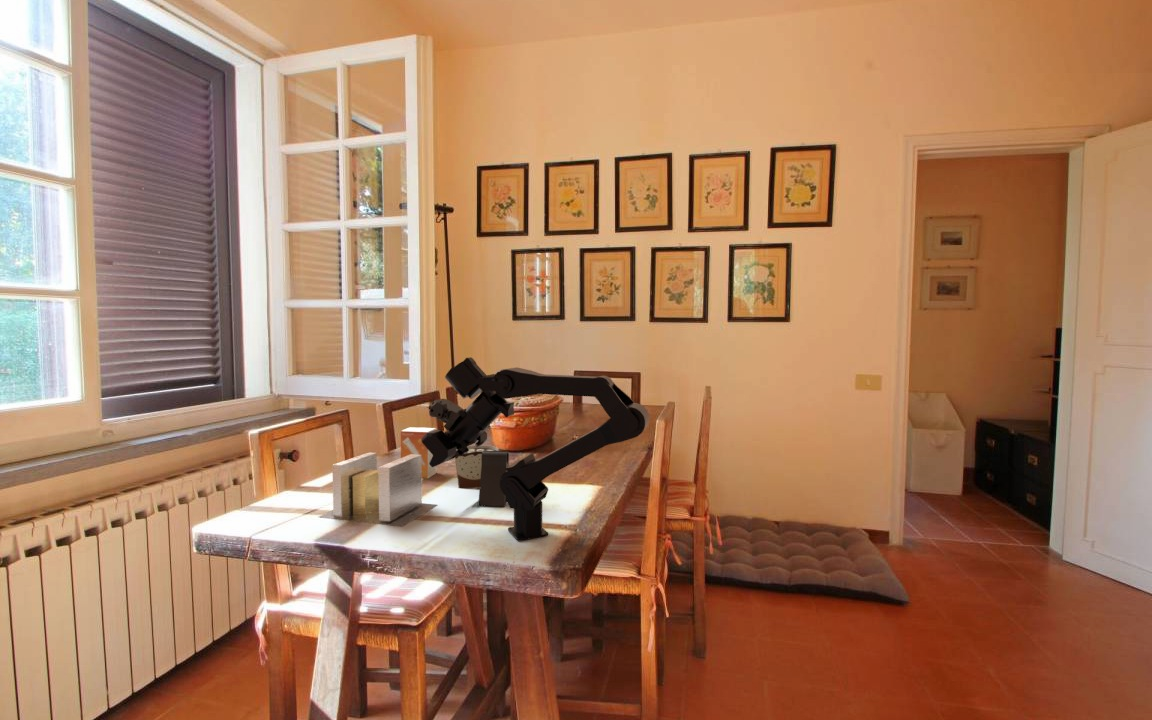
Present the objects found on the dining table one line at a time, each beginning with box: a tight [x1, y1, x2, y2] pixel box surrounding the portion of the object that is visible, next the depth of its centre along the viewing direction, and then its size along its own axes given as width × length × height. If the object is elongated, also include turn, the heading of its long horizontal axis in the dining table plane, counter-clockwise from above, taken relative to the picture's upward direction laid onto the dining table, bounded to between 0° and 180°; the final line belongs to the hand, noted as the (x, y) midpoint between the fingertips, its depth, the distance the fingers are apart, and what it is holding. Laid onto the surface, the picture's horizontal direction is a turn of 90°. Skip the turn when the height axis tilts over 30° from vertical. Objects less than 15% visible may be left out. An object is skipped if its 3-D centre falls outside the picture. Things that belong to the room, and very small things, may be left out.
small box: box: [400, 426, 438, 479], centre depth 151 cm, size 8×6×13 cm
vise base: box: [318, 452, 438, 528], centre depth 117 cm, size 20×14×12 cm
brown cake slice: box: [454, 444, 500, 490], centre depth 142 cm, size 12×6×10 cm, turn 108°
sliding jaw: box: [377, 454, 423, 522], centre depth 115 cm, size 2×12×11 cm, turn 165°
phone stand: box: [478, 450, 510, 508], centre depth 129 cm, size 9×6×12 cm, turn 175°
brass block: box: [353, 469, 379, 515], centre depth 118 cm, size 3×6×8 cm, turn 165°
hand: (431, 465), depth 113 cm, fingers closed
